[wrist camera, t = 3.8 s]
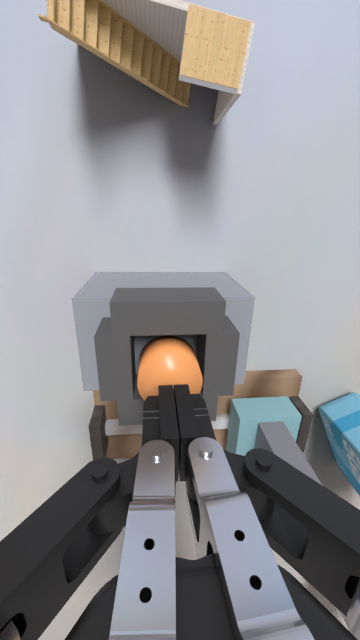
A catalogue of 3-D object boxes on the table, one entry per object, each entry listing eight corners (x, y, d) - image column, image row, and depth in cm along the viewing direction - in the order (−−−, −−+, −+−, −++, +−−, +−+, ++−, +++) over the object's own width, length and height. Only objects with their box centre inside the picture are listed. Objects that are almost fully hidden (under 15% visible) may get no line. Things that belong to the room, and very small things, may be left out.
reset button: (197, 334, 17) (204, 353, 15) (194, 384, 18) (201, 408, 16) (138, 336, 17) (135, 355, 14) (140, 386, 18) (138, 411, 16)
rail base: (295, 369, 31) (318, 394, 27) (281, 437, 35) (299, 468, 31) (95, 376, 29) (85, 404, 25) (103, 448, 33) (96, 483, 28)
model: (215, 127, 22) (246, 88, 15) (77, 95, 21) (38, 35, 13) (224, 77, 21) (261, 10, 14) (79, 40, 19) (37, -58, 12)
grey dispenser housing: (225, 265, 26) (274, 300, 16) (219, 345, 29) (256, 418, 19) (94, 264, 25) (55, 303, 15) (102, 348, 28) (74, 428, 18)
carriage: (287, 396, 29) (351, 483, 20) (277, 446, 31) (329, 545, 22) (231, 398, 28) (270, 490, 19) (225, 450, 31) (257, 552, 22)
